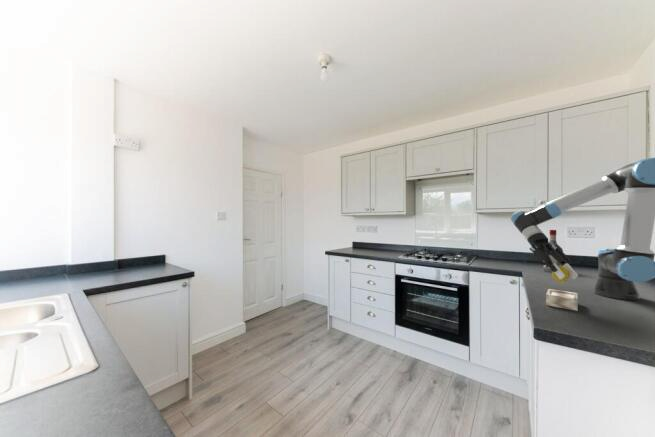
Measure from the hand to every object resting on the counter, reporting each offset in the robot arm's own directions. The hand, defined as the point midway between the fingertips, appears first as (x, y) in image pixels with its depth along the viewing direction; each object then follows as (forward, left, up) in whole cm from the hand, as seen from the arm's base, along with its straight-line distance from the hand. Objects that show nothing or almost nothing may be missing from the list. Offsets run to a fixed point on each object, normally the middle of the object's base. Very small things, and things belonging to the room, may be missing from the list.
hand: (569, 277), depth 111 cm
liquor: (+10, -90, -13) cm, 92 cm away
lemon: (+3, -2, -4) cm, 5 cm away
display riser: (+2, -2, -13) cm, 13 cm away
